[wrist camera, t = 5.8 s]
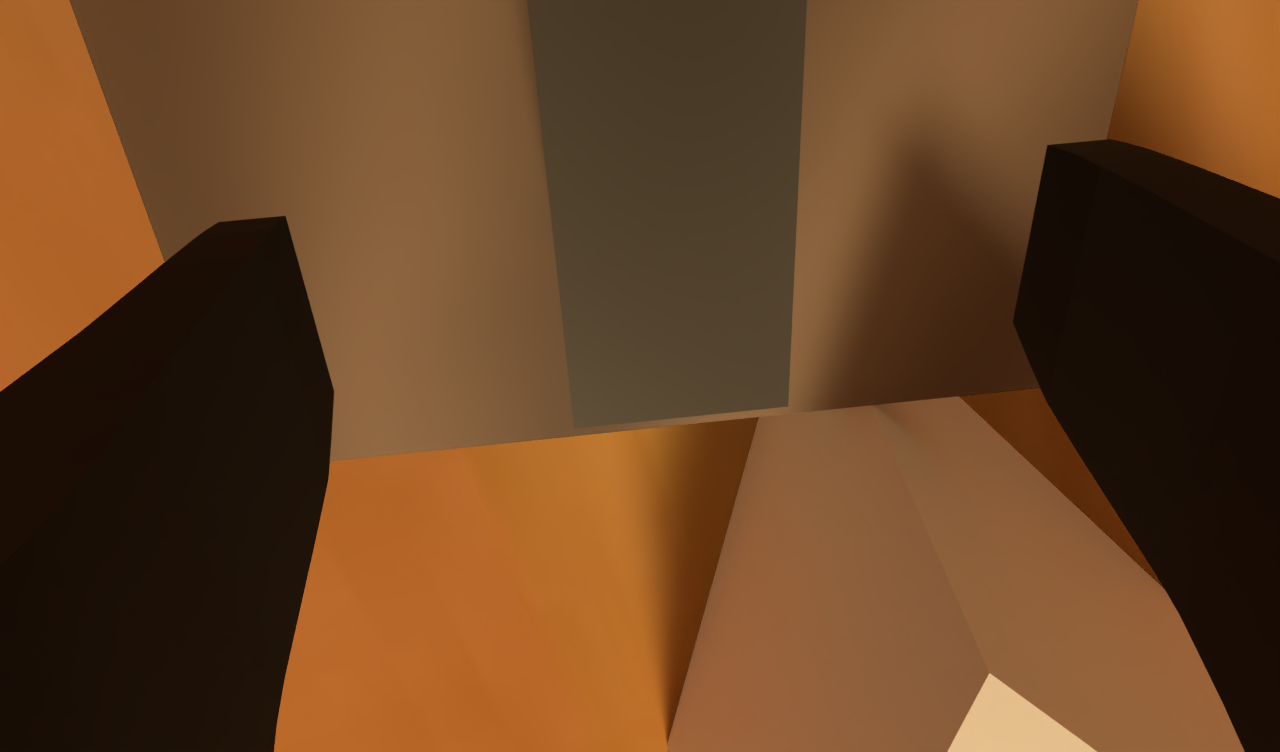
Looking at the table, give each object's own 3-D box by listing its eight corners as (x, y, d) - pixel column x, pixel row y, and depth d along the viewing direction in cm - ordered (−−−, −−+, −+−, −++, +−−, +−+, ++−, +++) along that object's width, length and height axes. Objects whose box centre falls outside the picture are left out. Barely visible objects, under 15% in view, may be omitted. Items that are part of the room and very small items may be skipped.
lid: (249, 437, 18) (182, 681, 14) (-133, -661, 10) (-533, -792, 6) (1030, 358, 18) (1168, 569, 15) (1261, -728, 10) (1696, -883, 7)
